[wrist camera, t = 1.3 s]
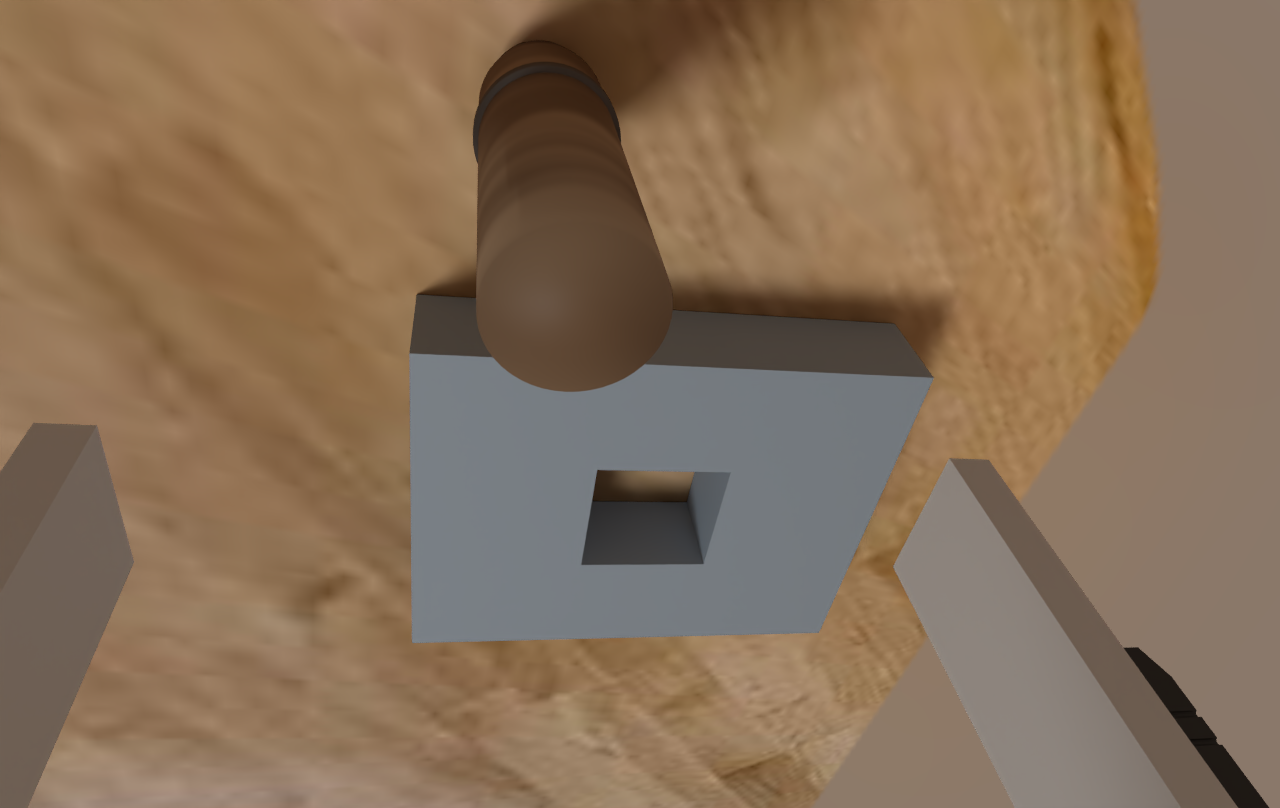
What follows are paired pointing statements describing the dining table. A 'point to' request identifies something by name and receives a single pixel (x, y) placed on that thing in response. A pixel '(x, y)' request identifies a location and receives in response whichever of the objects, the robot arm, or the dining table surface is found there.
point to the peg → (561, 228)
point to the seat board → (650, 441)
